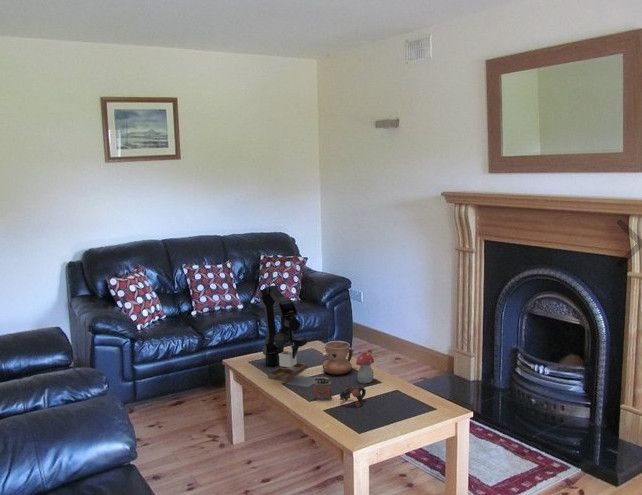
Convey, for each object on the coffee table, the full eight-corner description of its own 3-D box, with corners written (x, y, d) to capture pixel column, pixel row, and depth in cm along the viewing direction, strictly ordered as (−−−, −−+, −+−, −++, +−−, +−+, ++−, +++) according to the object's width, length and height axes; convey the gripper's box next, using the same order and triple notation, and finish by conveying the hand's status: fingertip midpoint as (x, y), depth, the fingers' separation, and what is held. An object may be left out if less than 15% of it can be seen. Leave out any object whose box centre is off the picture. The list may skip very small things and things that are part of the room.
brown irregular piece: (353, 411, 252) (343, 393, 253) (342, 413, 260) (333, 396, 261) (373, 397, 258) (364, 380, 259) (363, 400, 266) (354, 383, 267)
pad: (285, 384, 283) (285, 383, 283) (298, 376, 294) (297, 375, 294) (308, 388, 278) (308, 387, 278) (319, 379, 288) (319, 378, 288)
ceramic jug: (331, 379, 288) (331, 351, 286) (314, 371, 300) (314, 343, 298) (361, 372, 298) (361, 344, 296) (344, 364, 309) (344, 337, 307)
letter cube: (279, 365, 288) (279, 353, 288) (286, 362, 294) (285, 350, 293) (290, 367, 286) (289, 355, 285) (296, 363, 291) (296, 351, 290)
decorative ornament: (372, 377, 289) (371, 347, 287) (377, 382, 282) (376, 351, 280) (353, 380, 286) (353, 350, 284) (358, 385, 280) (358, 354, 278)
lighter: (332, 397, 266) (331, 375, 264) (331, 400, 262) (330, 378, 261) (314, 397, 267) (313, 375, 265) (313, 400, 263) (312, 378, 262)
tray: (268, 379, 291) (268, 374, 290) (289, 366, 309) (289, 361, 308) (287, 382, 286) (287, 377, 286) (307, 368, 304) (307, 364, 304)
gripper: (260, 328, 285) (262, 360, 287) (295, 332, 276) (296, 365, 278) (273, 323, 294) (274, 354, 296) (306, 326, 286) (308, 358, 288)
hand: (288, 357), depth 289 cm, fingers closed on letter cube, 6 cm apart
